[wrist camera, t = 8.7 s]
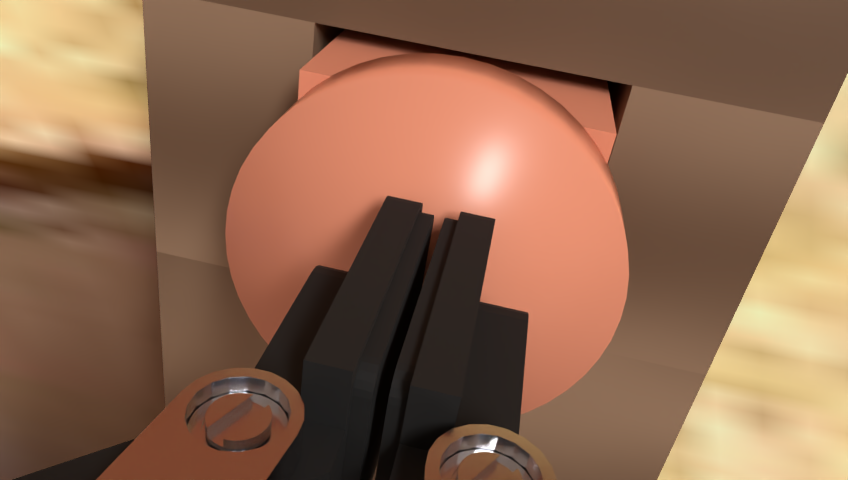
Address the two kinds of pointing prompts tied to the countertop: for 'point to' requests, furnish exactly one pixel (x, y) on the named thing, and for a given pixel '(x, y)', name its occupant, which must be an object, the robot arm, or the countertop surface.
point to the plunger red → (443, 188)
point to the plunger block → (629, 164)
